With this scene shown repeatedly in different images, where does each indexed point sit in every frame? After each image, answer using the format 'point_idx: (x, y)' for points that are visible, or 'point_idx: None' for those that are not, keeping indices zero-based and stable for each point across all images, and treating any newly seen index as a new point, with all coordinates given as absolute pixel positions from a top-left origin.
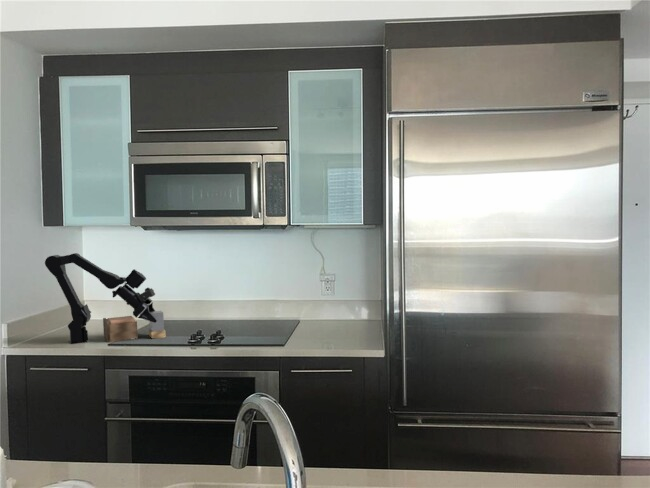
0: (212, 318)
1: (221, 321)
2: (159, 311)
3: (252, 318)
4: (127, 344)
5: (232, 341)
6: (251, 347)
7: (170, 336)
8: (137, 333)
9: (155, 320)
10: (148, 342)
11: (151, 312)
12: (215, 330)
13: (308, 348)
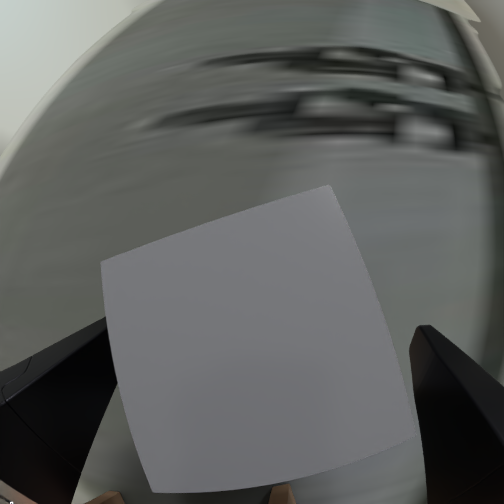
0: (10, 146)
1: (60, 104)
2: (175, 278)
3: (88, 52)
4: None
5: (426, 45)
6: (479, 42)
7: None
8: (287, 501)
9: (438, 340)
10: None
11: (251, 460)
12: (204, 71)
13: (459, 5)
